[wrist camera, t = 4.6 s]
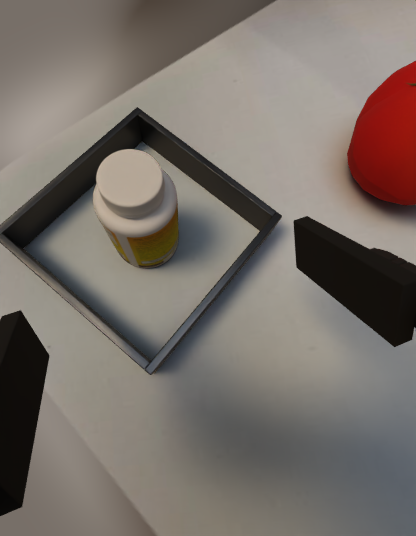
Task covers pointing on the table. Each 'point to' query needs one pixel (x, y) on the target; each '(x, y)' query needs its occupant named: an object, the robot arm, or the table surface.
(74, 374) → the table surface
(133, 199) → the supplement bottle
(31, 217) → the dark grey square frame
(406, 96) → the tomato
